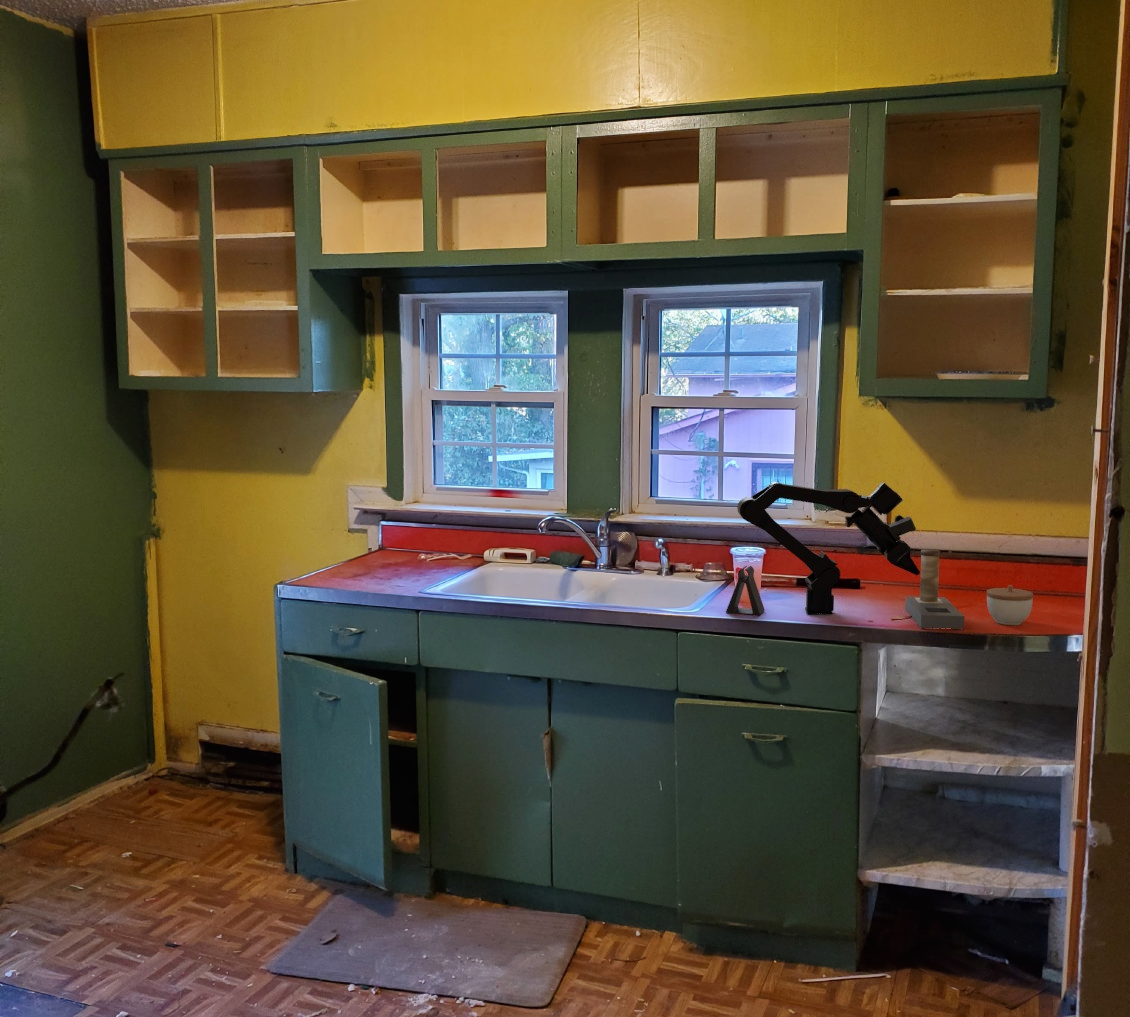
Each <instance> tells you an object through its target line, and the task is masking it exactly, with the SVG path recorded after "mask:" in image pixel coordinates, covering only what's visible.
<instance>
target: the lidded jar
mask: <svg viewBox="0 0 1130 1017" xmlns="http://www.w3.org/2000/svg"><path fill="white" fill-rule="evenodd" d="M1033 599H1034V593H1033V592H1032V591H1030V590H1025V589H1019V588H1014V587H1013V585H1012V584H1010V585H1009V584H1008V585H1007V587H994V588H989V589H987V590H986V603H987V604H986V606H987V610H988V613H989V614H990V616H991V617H992V618H993V620H994V621H995V623H997V624H1000V625H1004V626H1005V625H1006V626H1020V625H1022V623H1023V622H1024V621H1026V620H1027V619H1028V618H1029V616H1030V614H1031V611H1032V607H1033Z"/></svg>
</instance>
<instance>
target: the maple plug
mask: <svg viewBox="0 0 1130 1017" xmlns="http://www.w3.org/2000/svg"><path fill="white" fill-rule="evenodd" d="M920 554H921V556H920V579H919V580H920V585H919V586H920V588H919V597H920V600H921V601H925V602H937V601H938V597H939V575H940V555H941V550H939V549H931V548H930V549H926V548H925V549H921V550H920Z"/></svg>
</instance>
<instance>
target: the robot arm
mask: <svg viewBox="0 0 1130 1017" xmlns="http://www.w3.org/2000/svg"><path fill="white" fill-rule="evenodd" d="M779 499H783V500H791V501H796V502H804V503H809V504H816V505H821V506H822V505H823V506H824V507H825V506H826V507H828V508H830V509H833V510H836V511H839V512H841V513H845V514H851V515H849V516H848V515H847V516H844V519H845V522H844V526H845V527H846V528H850V527H852V526H853V525H854V526H856V528H858V530H859V531H860V532H861V533H862V534H863V535H864V536H865V537H866V538H867V539H868V540H869V542H871V543H872V545H874V546H875V547H876V549H877V550H878V552H879V553H881V554H882V555H883V557H884V558H885V559H886V560H887V561H888V562H889V563H890V564H891V565H892V566H895V567H896V568H900V569H901V570H904V571H906V572H908V573H910V574H913V575H915V576H919V575H921V570H919V569H918V566H917V565H916V564H915V562H914V560H913V559H912V557H911V552H912V548H911V546H910V545H909V544H908V543H907V542H905V541H904V540H902V539H901V536H902V535H905V534H908V533H911V532H915V531H916V530H917V528H916V526H915V523H914V521H913V519H912V517H910V516H905V517H904V516H902V515H901V514H898V515H896V516H894V521H892V523H889V524H888V523H887V522H886V521H883V520H882V518H880V516H882V515H884V516H888V515H889V514H890V513H891V512H892V511H893V510H895V508H896V507H897V506H898V505H899V504H901V503H902V502H903V501H904V499H903V498H902V497H901V496H900V495H899V493H897V492H896V491H895V490H893V489H892V488H891V487H890V486H889V485H888V484H887V483H885V482H881V483H880V484H879V485H878V487H876V489H875V490H874V491H873V492H872V493H870V494H869V495H868V496H867V495H865V494H858V493H857V492H855V491H853V490H851V489H848V488H837V489H836V488H834V489H819V488H813V487H805V486H799V485H793V484H788V483H781V482H778V481H773V482H771V483H770V484H768V485H767V486H766V487H764V488H762V489H761V490H759V491H758V492H756V493H755V494H752V495H751V496H745V497H743V498H741V499H740V500H739V502H738V503H737V512H738V514H739V516H740V517H741V518H742V519H743V520H744V521H746V522H748V523H750V524H752V525H753V526H754V527H756V528H758V529H761V530H762V531H765V532H766V533H767V534H768V535H769V536H771V537H772V538H773V539H774V540H775V541H777V542H778V543H779V544H780V545H782V546H783V547H784V548H785V549H787V550H788V551H789V552H790V553H791V554H793V555H794V556H795V557H797V558H798V560H800V561H801V562H803V564H804V565H805V566H806V567H807V568H808V570H809V571H810V572H811V573H810V574H809V575H807V576H806V577H805V579H804V580H805V583H806V586H808V587H806V589H805V607H804V611H805V613H806V614H807V615H830V616H831V615H833V612H834V610H835V609H834V607H835V603H834V602H835V596H834V594H833V593H832V592H833V588H834V586H835V585H836V584H837V583H838V582H839V581H840V579H841V571H840V568H839V567H838V566H837V565H838V564H839V563H837V562H836V561H835V560H834V559H832V558H829V556H828V555H827V554H826V553H825V552H824V551H823V550H820V552H819V554H818V553H816V552H814V551H812V550H811V549H810V548H808V547H807V546H806V545H805V544H803V543H802V542H801V541H800V540H799V539H797V538H796V537H795V536H794V535H792V534H791V533H790V532H789V531H787V529H785V528H784V527H783V526H782V525H780V524H779V523H778V522H777V521H775V520H774V519H773V518H772V516H771V515H770V514H769V513H768V512H767V511H766V510H767V509H768V508H769V507H770V506H772V505H773V504H774V503H775V502H776V501H778V500H779ZM871 508H872V509H873V510H874V511H875V512H874V511H873V510H872V509H871ZM860 509H861V510H860ZM876 513H877V514H878V515H880V516H878V515H877V514H876Z"/></svg>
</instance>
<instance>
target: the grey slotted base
mask: <svg viewBox="0 0 1130 1017" xmlns="http://www.w3.org/2000/svg"><path fill="white" fill-rule="evenodd" d="M904 609H906V610H905V611H906V613H907V612H908V613H909V614H910V615H911V616H912V617H911V616H910V615H909V614H908V613H907V614H908V615H909V616H910V617H911V618H913V619H914V620H915V621H914V620H913V619H912V620H913V621H914V622H915V623H917V624H918V625H919V626H918V625H917V624H916V625H917V626H918V627H919V629H920V628H932V629H931V630H934V629H933V628H939V629H941V628H945V629H946V628H951V629H964V626H965V615H964V614H963V613H961V612H960V611H959V609H958V608H956V607H955V606H954V605H953V604H952V603H951V602H950V601H949V600H948V599H947V598H946V597H943V596H942V597H940V596H938V601H937V602H925V601H921V600H920V596H905V605H904ZM939 629H938V630H939ZM964 630H965V629H964Z"/></svg>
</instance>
